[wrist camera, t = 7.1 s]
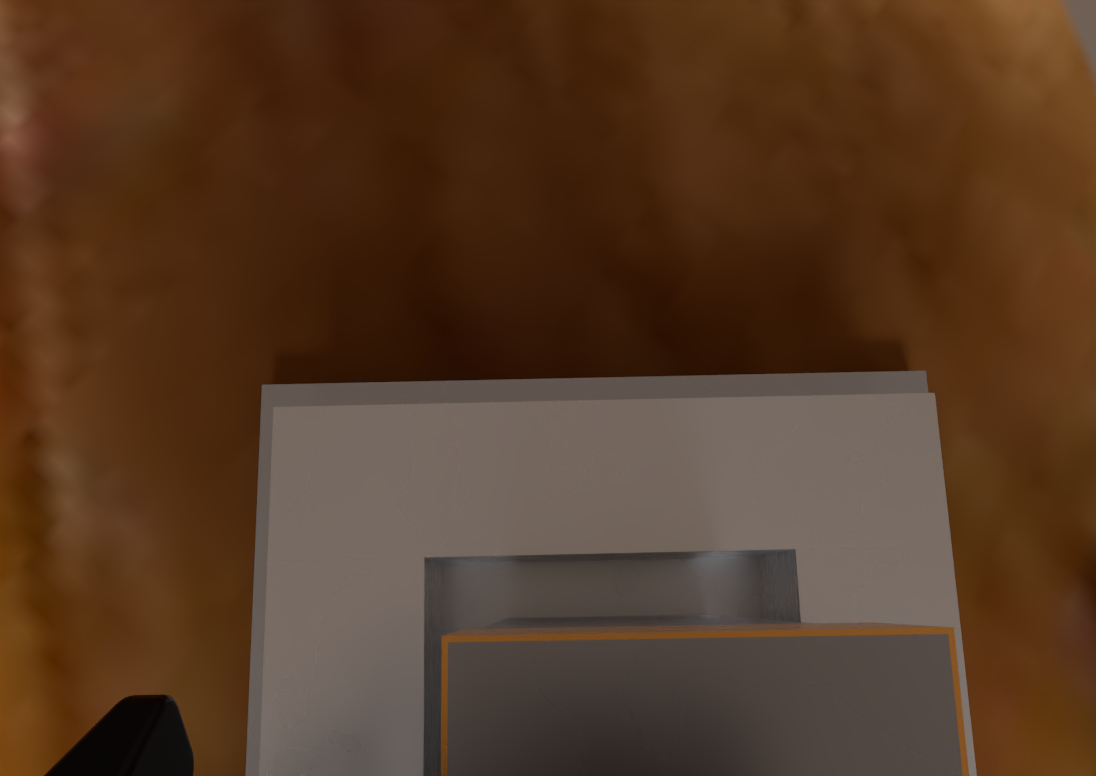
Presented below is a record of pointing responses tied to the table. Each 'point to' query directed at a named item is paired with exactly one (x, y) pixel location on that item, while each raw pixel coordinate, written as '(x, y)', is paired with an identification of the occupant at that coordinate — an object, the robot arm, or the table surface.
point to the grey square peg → (700, 698)
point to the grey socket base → (567, 531)
